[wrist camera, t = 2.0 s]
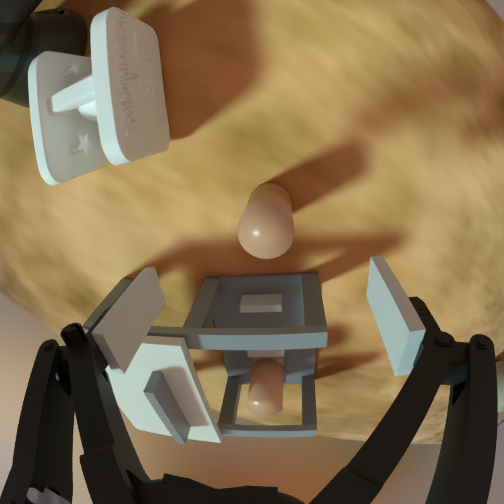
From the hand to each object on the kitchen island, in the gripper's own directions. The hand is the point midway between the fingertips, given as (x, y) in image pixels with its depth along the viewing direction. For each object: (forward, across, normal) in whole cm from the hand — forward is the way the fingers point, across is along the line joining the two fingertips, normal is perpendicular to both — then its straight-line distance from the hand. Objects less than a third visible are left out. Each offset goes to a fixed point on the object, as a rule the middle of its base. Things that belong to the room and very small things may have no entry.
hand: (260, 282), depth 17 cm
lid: (+5, -16, -19) cm, 25 cm away
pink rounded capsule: (+16, 0, 0) cm, 16 cm away
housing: (+16, -9, -19) cm, 27 cm away
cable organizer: (+16, -15, +15) cm, 27 cm away
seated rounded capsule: (+16, -2, -23) cm, 28 cm away
